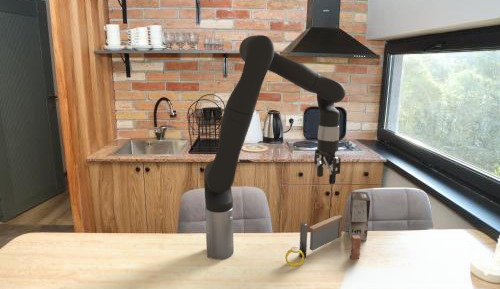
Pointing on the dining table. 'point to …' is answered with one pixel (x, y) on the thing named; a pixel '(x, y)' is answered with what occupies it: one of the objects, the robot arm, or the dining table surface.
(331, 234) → the gate
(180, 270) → the dining table surface
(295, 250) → the watch
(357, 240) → the block
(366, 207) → the coffee box
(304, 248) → the gate post
